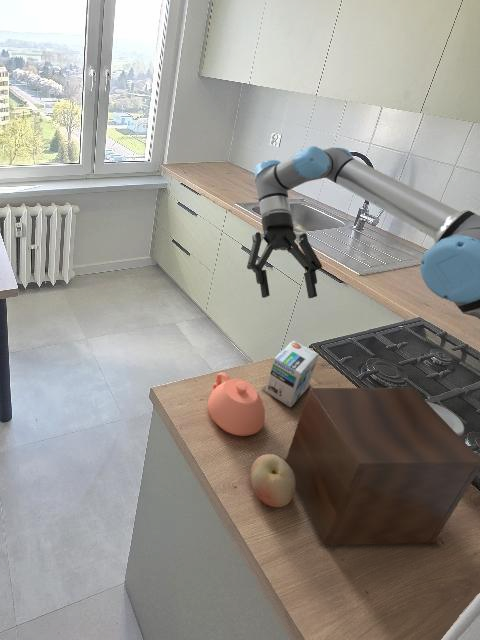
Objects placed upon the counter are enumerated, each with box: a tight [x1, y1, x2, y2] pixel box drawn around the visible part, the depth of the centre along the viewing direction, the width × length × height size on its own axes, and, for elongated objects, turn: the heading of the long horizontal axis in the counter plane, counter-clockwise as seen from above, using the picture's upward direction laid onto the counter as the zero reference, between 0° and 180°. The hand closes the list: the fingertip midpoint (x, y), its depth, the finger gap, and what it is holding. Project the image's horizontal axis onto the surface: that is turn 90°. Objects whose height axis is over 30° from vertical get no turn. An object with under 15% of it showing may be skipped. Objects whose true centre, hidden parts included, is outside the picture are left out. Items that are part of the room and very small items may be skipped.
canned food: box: [426, 401, 465, 439], centre depth 87 cm, size 8×8×11 cm
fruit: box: [249, 453, 297, 508], centre depth 78 cm, size 8×8×8 cm
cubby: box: [284, 387, 480, 546], centre depth 75 cm, size 20×15×21 cm
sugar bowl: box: [207, 371, 266, 437], centre depth 94 cm, size 12×14×10 cm
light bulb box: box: [265, 340, 320, 408], centre depth 102 cm, size 11×7×11 cm, turn 132°
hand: (289, 297), depth 104 cm, fingers open, 11 cm apart
